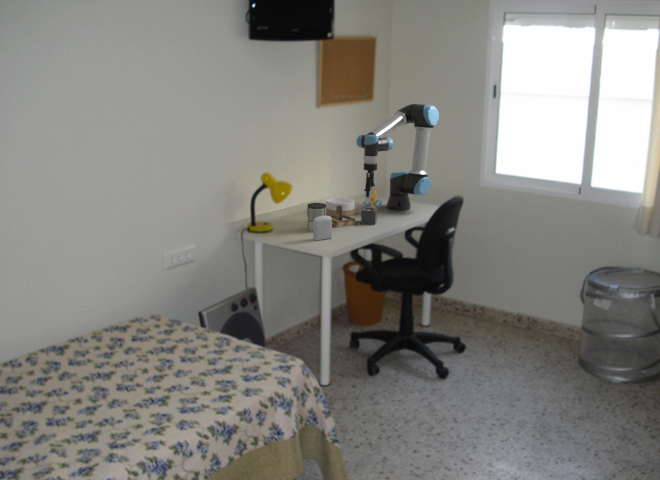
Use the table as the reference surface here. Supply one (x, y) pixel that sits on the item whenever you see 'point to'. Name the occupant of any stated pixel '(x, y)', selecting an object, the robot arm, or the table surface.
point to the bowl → (346, 204)
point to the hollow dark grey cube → (369, 216)
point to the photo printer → (322, 227)
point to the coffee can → (315, 213)
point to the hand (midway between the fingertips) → (369, 200)
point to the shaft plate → (342, 219)
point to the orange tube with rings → (373, 201)
